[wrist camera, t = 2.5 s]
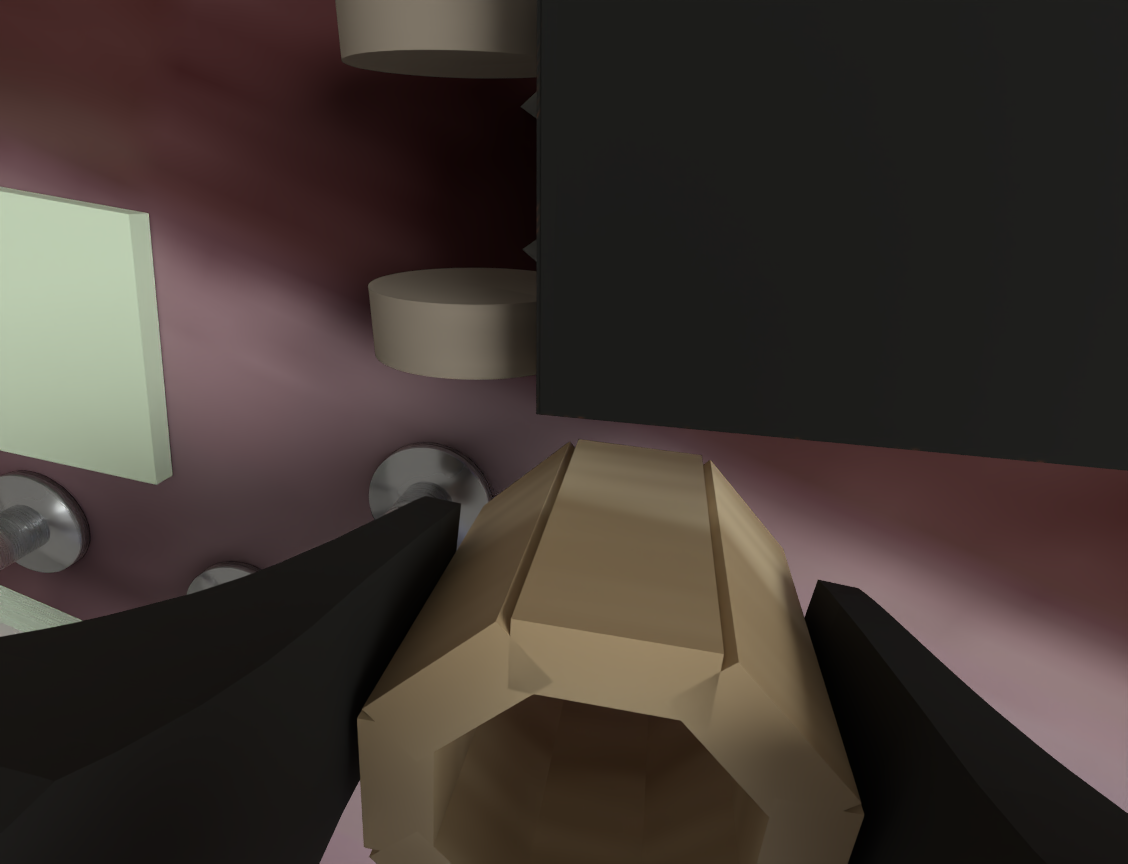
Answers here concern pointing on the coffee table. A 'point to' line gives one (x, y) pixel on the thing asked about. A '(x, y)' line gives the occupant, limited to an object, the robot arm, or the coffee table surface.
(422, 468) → the grey piece
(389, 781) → the maple ring
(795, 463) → the coffee table surface
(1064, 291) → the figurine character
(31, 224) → the pad
